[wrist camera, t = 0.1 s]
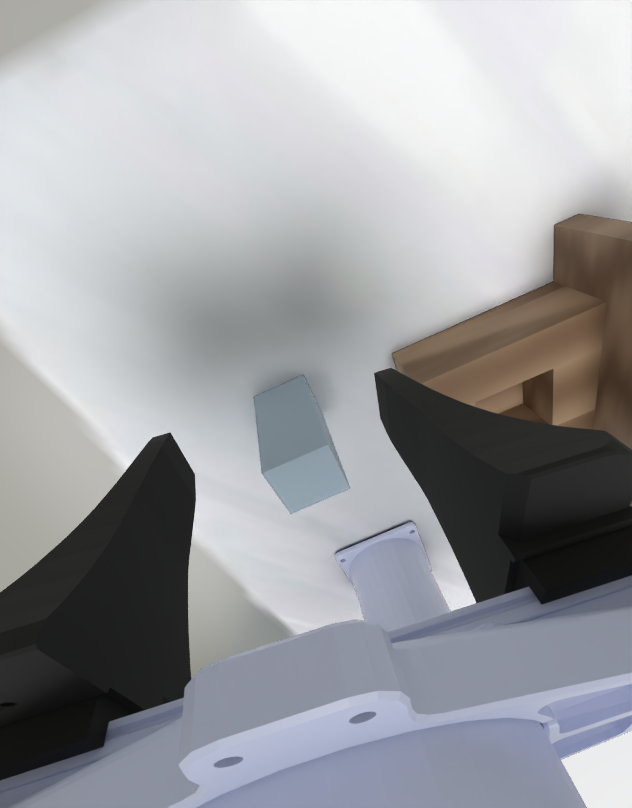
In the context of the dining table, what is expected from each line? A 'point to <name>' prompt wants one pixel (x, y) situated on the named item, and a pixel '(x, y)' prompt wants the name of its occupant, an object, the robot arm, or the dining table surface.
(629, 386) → the socket holder
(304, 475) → the peg
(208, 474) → the dining table surface
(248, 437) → the dining table surface
